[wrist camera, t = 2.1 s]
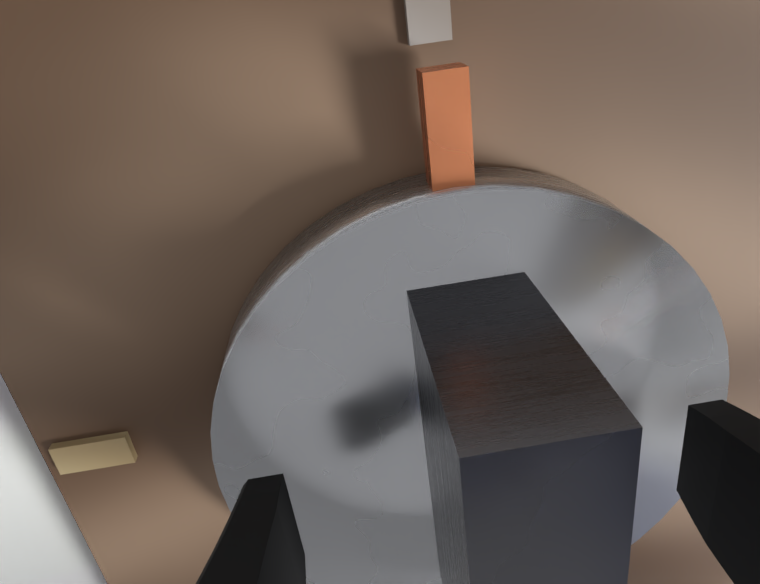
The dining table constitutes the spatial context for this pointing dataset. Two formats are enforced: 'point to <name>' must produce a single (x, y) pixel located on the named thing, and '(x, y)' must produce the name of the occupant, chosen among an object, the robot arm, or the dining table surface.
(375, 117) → the dial plate
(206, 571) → the robot arm
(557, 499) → the dial
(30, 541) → the dining table surface
